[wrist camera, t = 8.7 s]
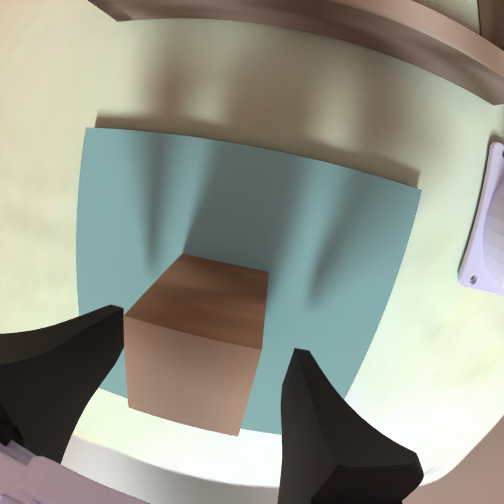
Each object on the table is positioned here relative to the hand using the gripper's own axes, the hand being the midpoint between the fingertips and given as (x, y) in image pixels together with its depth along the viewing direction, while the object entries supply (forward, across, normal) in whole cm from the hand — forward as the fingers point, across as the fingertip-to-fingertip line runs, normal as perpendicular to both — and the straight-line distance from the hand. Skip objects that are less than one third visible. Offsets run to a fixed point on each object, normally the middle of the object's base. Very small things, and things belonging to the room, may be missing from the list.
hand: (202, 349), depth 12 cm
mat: (+3, 0, 0) cm, 3 cm away
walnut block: (+3, 0, -1) cm, 3 cm away
